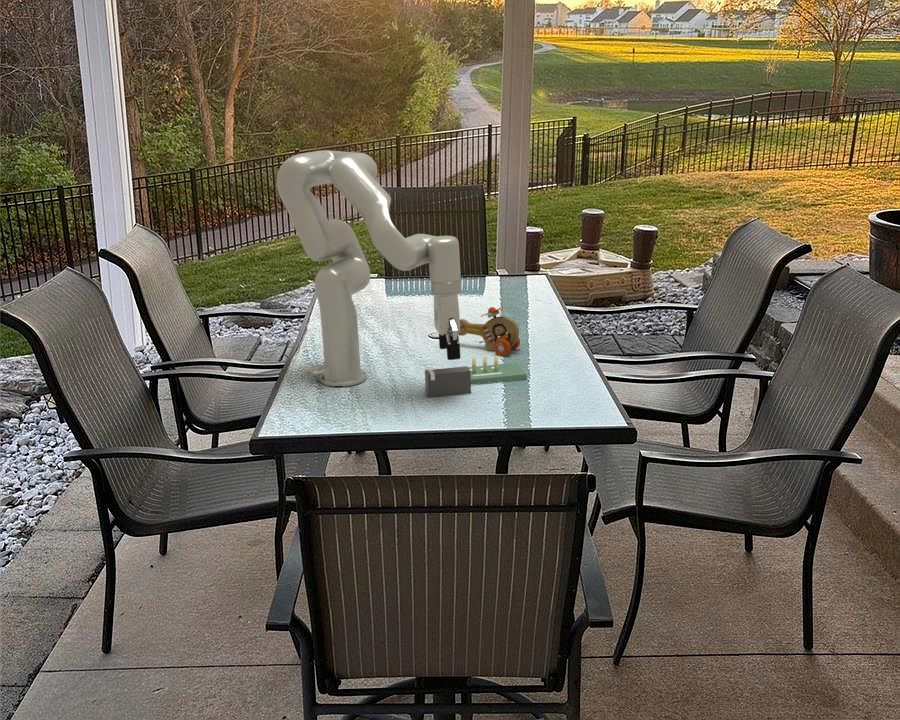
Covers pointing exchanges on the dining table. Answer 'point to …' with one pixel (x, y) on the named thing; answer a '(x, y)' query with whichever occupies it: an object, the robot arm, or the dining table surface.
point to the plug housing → (447, 381)
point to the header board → (495, 372)
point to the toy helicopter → (494, 332)
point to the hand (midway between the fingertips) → (449, 353)
